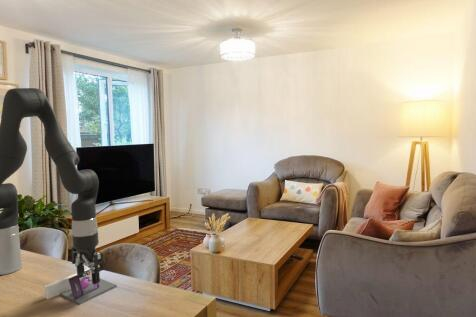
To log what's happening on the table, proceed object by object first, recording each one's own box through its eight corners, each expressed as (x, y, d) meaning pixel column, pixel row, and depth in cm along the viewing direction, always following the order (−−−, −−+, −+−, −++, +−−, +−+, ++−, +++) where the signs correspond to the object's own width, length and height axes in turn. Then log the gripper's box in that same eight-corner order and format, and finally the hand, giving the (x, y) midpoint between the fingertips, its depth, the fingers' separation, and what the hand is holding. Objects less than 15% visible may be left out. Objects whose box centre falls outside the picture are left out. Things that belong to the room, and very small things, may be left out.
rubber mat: (60, 295, 105) (60, 293, 105) (97, 279, 115) (97, 277, 115) (79, 304, 98) (79, 302, 98) (116, 286, 109) (116, 285, 109)
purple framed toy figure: (70, 278, 100) (95, 267, 108) (60, 280, 102) (85, 269, 110) (76, 299, 99) (101, 286, 107) (66, 301, 102) (91, 288, 110)
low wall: (45, 298, 103) (44, 285, 103) (92, 278, 116) (91, 267, 116) (47, 299, 102) (46, 287, 102) (94, 279, 115) (94, 268, 115)
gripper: (61, 231, 106) (65, 279, 107) (86, 238, 98) (90, 290, 100) (83, 225, 112) (86, 271, 114) (108, 232, 104) (111, 280, 106)
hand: (88, 280), depth 107 cm, fingers open, 8 cm apart
